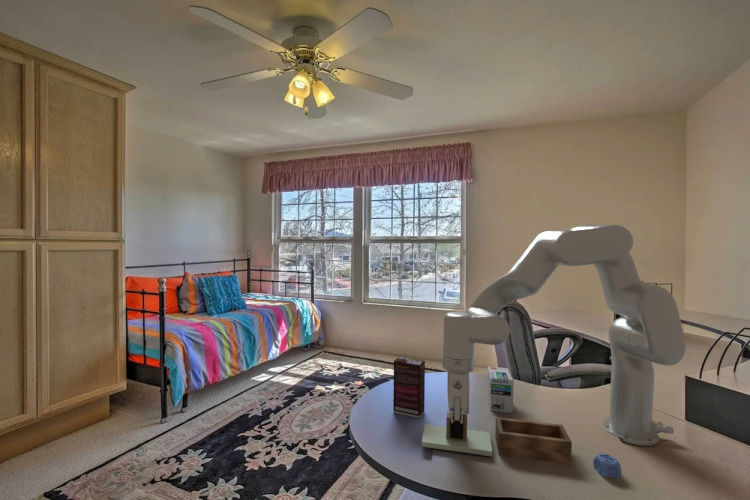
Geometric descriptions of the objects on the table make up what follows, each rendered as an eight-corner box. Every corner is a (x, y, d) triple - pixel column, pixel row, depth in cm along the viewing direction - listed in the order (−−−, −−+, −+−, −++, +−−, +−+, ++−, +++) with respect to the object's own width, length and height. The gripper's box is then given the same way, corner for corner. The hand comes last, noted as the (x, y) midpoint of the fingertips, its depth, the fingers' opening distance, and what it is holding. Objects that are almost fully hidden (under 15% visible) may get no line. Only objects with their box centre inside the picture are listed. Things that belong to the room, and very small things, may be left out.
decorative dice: (610, 470, 85) (611, 453, 85) (621, 482, 81) (622, 464, 81) (592, 469, 85) (593, 452, 85) (602, 481, 81) (603, 463, 81)
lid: (489, 436, 96) (490, 411, 96) (492, 456, 87) (492, 428, 87) (424, 428, 99) (425, 404, 99) (421, 446, 91) (422, 419, 91)
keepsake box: (561, 448, 94) (562, 424, 93) (570, 467, 86) (571, 442, 86) (495, 439, 97) (495, 417, 97) (498, 457, 89) (499, 433, 89)
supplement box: (424, 412, 112) (425, 360, 111) (419, 419, 107) (420, 365, 106) (398, 406, 115) (398, 355, 115) (392, 413, 111) (393, 360, 110)
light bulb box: (513, 415, 110) (514, 380, 110) (489, 413, 111) (490, 378, 111) (507, 400, 121) (508, 367, 120) (486, 398, 122) (487, 365, 121)
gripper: (475, 375, 84) (473, 455, 85) (472, 353, 100) (470, 420, 101) (441, 372, 85) (439, 450, 86) (444, 350, 101) (442, 416, 102)
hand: (456, 433), depth 93 cm, fingers closed on lid, 3 cm apart
